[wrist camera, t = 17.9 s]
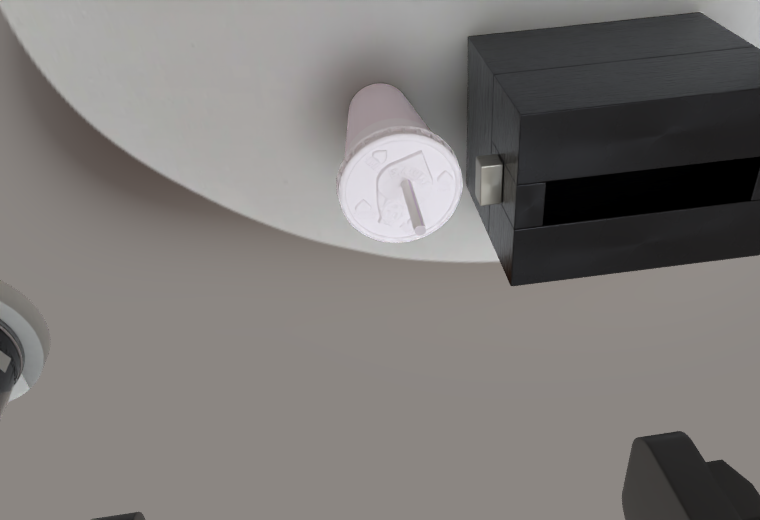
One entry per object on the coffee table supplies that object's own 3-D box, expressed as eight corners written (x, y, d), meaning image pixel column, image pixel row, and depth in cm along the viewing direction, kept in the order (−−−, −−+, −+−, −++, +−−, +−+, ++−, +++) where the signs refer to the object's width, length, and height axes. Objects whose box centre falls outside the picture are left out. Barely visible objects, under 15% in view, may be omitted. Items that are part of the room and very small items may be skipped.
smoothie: (448, 82, 43) (510, 203, 31) (404, 171, 46) (446, 309, 35) (349, 45, 41) (378, 159, 29) (310, 140, 44) (323, 276, 32)
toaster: (448, 187, 47) (488, 289, 38) (447, 38, 41) (494, 118, 32) (670, 161, 48) (760, 255, 39) (700, 12, 42) (814, 82, 33)
